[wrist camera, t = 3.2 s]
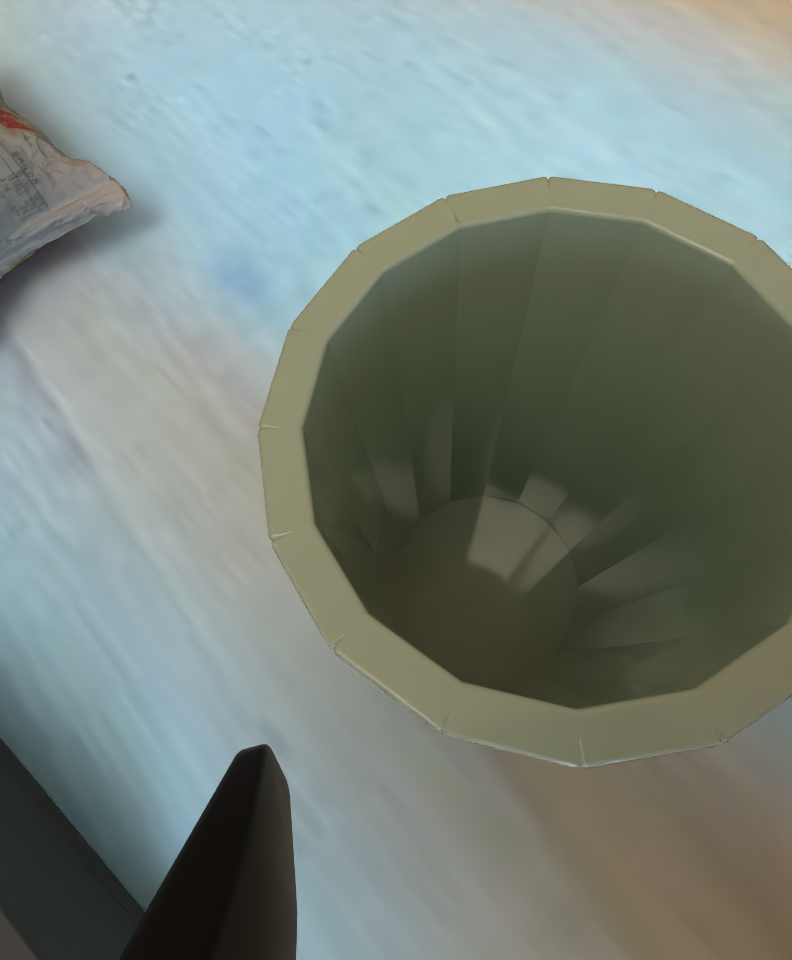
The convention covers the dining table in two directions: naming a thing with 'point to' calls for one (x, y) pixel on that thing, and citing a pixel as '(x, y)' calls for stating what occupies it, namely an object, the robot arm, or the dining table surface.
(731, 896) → the dining table surface
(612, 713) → the tumbler
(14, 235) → the packaged food
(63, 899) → the tub
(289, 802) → the robot arm
